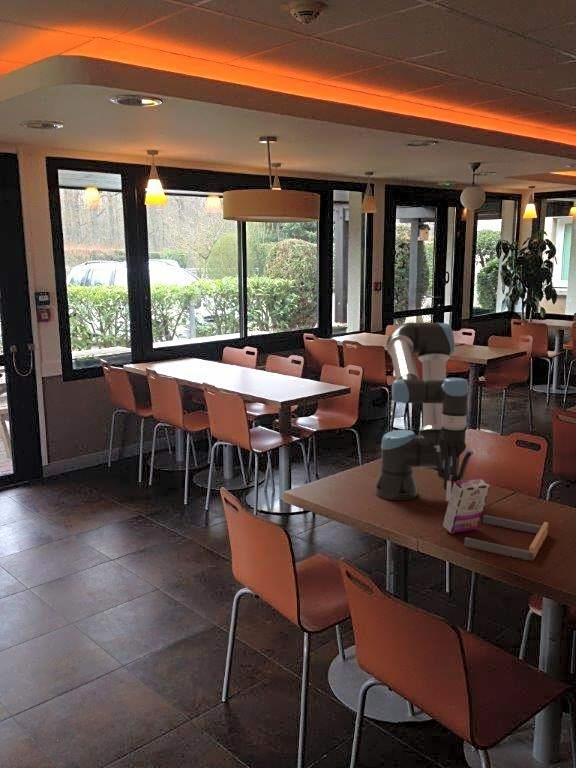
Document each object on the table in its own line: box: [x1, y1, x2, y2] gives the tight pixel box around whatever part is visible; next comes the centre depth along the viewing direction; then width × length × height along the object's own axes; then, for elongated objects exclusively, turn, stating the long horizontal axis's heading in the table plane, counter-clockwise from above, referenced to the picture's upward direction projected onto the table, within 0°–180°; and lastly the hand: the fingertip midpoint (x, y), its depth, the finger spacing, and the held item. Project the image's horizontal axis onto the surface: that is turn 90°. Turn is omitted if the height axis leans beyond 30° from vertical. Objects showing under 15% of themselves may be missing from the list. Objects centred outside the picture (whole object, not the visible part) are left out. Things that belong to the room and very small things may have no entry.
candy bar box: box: [442, 478, 491, 534], centre depth 216 cm, size 11×5×16 cm, turn 116°
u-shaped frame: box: [463, 514, 549, 562], centre depth 211 cm, size 20×22×4 cm
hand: (449, 499), depth 217 cm, fingers closed
